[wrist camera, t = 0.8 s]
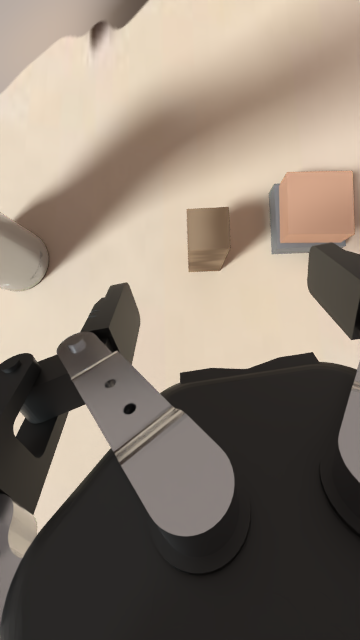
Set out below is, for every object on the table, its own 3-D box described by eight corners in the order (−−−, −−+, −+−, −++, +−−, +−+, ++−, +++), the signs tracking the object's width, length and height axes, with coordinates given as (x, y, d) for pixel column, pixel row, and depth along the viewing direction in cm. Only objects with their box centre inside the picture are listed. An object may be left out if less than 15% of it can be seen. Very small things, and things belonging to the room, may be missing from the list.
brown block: (188, 271, 38) (188, 249, 28) (187, 241, 38) (186, 209, 28) (219, 270, 38) (230, 248, 28) (218, 240, 38) (228, 207, 28)
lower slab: (270, 255, 38) (277, 248, 35) (267, 195, 39) (274, 183, 36) (333, 252, 38) (345, 245, 35) (329, 192, 38) (341, 180, 35)
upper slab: (280, 243, 35) (288, 234, 32) (279, 185, 36) (287, 172, 33) (340, 242, 35) (354, 233, 32) (338, 184, 35) (352, 170, 32)
